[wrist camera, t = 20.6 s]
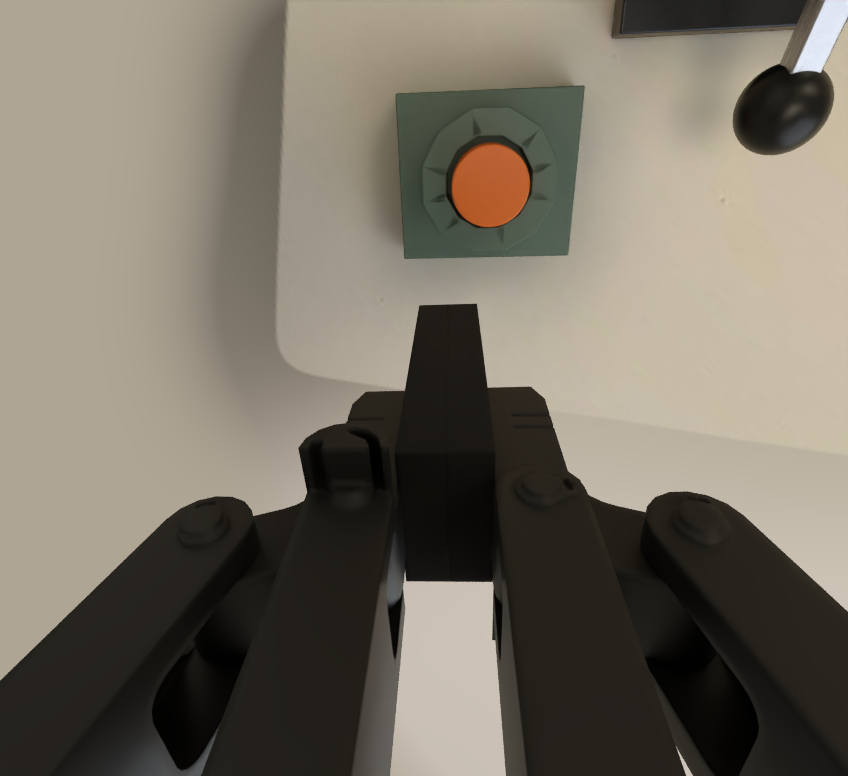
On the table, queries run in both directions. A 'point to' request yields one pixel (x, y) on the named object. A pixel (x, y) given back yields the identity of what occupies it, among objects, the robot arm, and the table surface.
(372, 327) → the table surface
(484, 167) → the button
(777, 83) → the lever
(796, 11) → the bracket
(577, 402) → the table surface
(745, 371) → the table surface
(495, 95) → the control block
